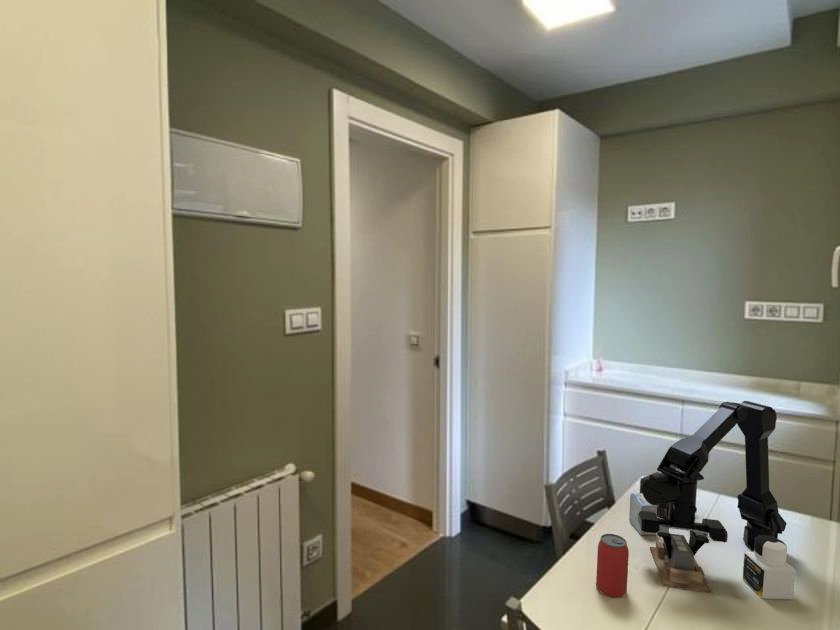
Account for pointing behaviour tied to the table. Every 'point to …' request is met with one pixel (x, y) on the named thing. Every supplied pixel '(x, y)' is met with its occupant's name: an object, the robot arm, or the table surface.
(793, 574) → the medicine bottle
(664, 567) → the cradle board
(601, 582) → the beer can
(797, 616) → the table surface
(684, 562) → the power strip
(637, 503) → the medicine box
